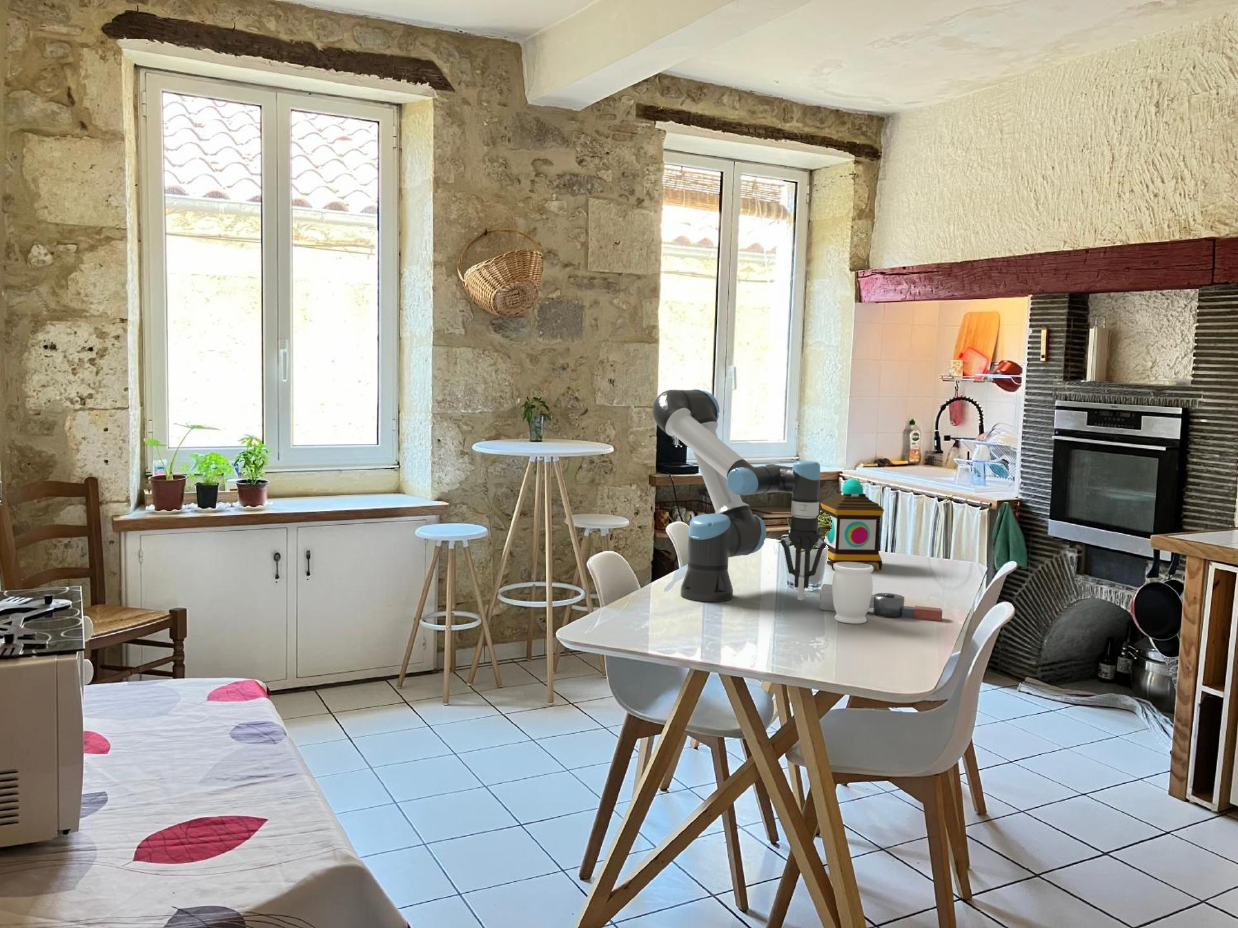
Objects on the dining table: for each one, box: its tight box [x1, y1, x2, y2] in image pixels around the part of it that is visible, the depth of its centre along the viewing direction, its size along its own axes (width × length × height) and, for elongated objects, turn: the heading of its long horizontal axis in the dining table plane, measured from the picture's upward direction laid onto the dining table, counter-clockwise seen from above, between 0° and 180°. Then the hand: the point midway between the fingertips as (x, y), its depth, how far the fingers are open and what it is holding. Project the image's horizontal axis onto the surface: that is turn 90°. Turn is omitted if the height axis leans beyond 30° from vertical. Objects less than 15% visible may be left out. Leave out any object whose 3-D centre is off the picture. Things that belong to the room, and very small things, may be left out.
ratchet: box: [869, 592, 943, 622], centre depth 270 cm, size 22×8×6 cm, turn 73°
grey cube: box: [819, 583, 836, 612], centre depth 276 cm, size 6×6×6 cm
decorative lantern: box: [820, 478, 885, 571], centre depth 337 cm, size 20×20×30 cm
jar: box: [831, 562, 874, 625], centre depth 263 cm, size 11×10×15 cm
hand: (800, 598), depth 278 cm, fingers closed
